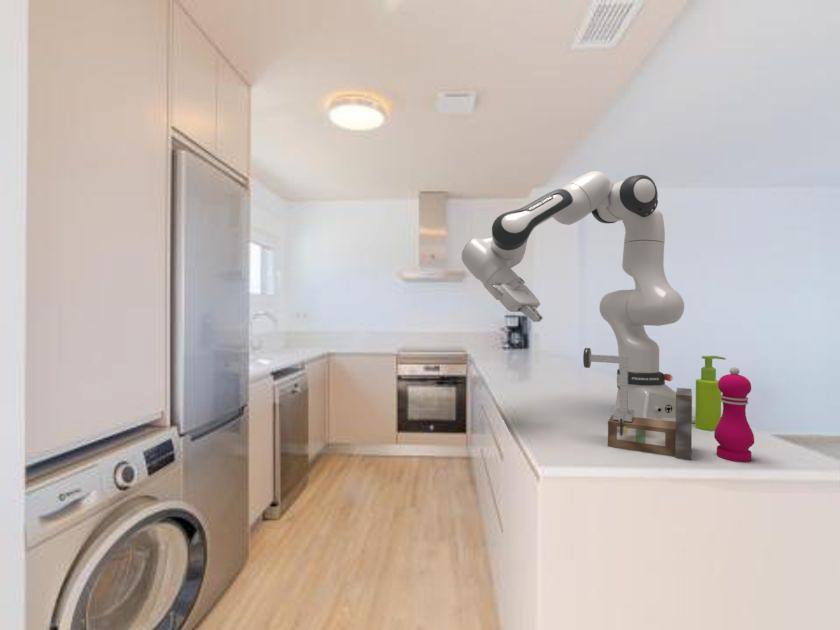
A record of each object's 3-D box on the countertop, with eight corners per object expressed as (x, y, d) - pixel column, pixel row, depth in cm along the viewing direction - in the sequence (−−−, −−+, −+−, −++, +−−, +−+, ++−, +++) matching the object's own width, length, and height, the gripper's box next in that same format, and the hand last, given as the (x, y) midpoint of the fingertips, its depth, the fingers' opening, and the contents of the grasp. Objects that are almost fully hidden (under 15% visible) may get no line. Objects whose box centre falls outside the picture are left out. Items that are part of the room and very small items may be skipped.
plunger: (581, 430, 107) (581, 349, 107) (587, 423, 114) (587, 347, 113) (630, 436, 101) (631, 351, 101) (634, 429, 108) (634, 349, 108)
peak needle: (623, 434, 102) (623, 426, 102) (623, 434, 102) (624, 425, 102) (626, 435, 102) (626, 426, 102) (626, 434, 102) (626, 426, 102)
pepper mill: (761, 463, 93) (762, 369, 92) (723, 461, 94) (724, 368, 94) (743, 452, 100) (744, 365, 100) (708, 450, 101) (709, 364, 101)
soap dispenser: (729, 431, 117) (730, 357, 117) (701, 430, 118) (701, 356, 118) (718, 426, 123) (719, 355, 123) (691, 424, 124) (692, 354, 124)
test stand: (607, 447, 104) (607, 388, 103) (613, 436, 112) (613, 382, 112) (691, 460, 95) (691, 395, 95) (690, 447, 103) (691, 388, 103)
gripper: (498, 273, 112) (535, 312, 107) (523, 278, 129) (556, 311, 124) (482, 291, 114) (518, 329, 109) (508, 294, 132) (541, 327, 127)
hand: (538, 320), depth 117 cm, fingers closed
